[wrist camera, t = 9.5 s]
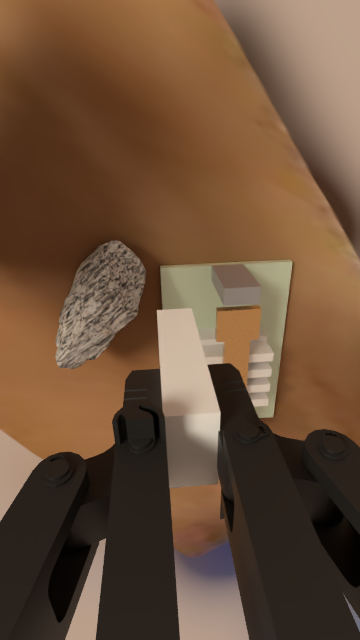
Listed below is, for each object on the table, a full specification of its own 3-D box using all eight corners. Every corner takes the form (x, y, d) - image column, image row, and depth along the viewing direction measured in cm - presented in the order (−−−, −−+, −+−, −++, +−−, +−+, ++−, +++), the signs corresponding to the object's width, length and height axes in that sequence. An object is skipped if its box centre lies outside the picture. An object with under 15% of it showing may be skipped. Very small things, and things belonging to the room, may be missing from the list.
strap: (247, 436, 49) (249, 442, 48) (212, 438, 49) (213, 445, 48) (258, 304, 40) (261, 309, 39) (215, 307, 40) (217, 311, 38)
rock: (76, 351, 48) (73, 390, 39) (26, 313, 45) (10, 345, 36) (157, 273, 47) (173, 294, 38) (112, 227, 44) (118, 238, 35)
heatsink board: (168, 420, 56) (171, 466, 48) (160, 265, 44) (162, 291, 36) (271, 412, 57) (291, 456, 49) (289, 259, 45) (320, 283, 37)
